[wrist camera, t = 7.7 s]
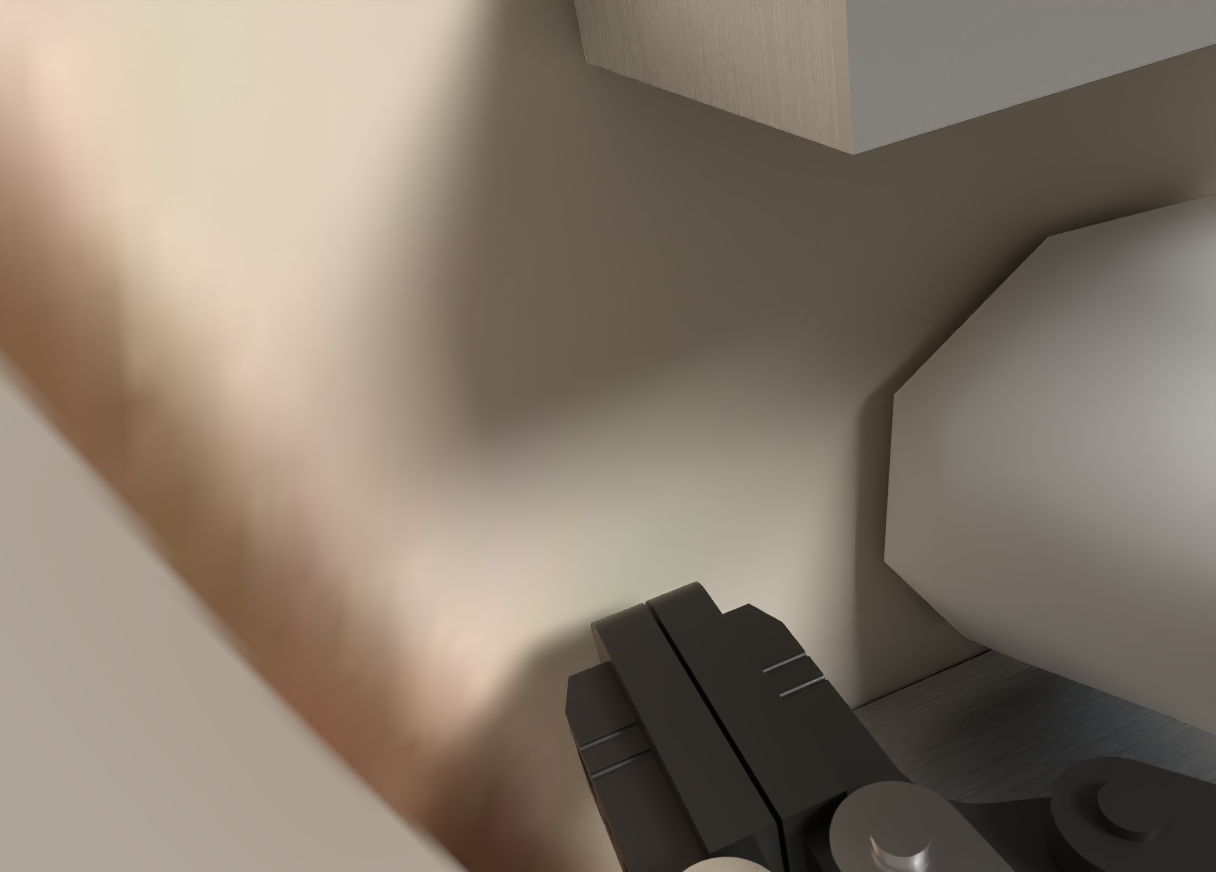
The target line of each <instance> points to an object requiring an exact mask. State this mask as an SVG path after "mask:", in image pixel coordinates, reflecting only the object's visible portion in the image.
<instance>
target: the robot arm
mask: <svg viewBox="0 0 1216 872" xmlns="http://www.w3.org/2000/svg"><path fill="white" fill-rule="evenodd" d="M591 628H592V632H593V636H594V640H595V643H596V647H597V650H598V654H599V657H600V661H601V664H600V665H597V666H595V667H592V668H590V669H587V670H585V671H582V672H580V673H577V674H575V675H573V676H570V677H569V681H568V690H567V700H566V710H565V713H566V716H567V719H568V723H569V726H570V729H571V732H572V735H573V738H574V741H575V744H576V747H577V750H578V753H579V757H580V760H581V763H582V766H583V769H584V772H585V775H586V778H587V781H588V784H589V788H590V790H591V793H592V795H593V798H594V800H595V803H596V805H597V808H598V810H599V813H600V815H601V818H602V820H603V823H604V825H605V827H606V830H607V833H608V835H609V838H610V840H611V843H612V845H613V848H614V850H615V852H616V855H617V857H618V860H619V863H620V865H621V868H622V870H623V872H1216V784H1213V783H1210V782H1207V781H1203V780H1200V779H1197V778H1193V777H1190V776H1187V775H1183V774H1180V773H1177V772H1173V771H1170V770H1167V769H1163V768H1160V767H1157V766H1153V765H1150V764H1147V763H1143V762H1140V761H1136V760H1131V759H1127V758H1120V757H1096V758H1090V759H1086V760H1083V761H1080V762H1077V763H1076V764H1074V765H1072V766H1070V767H1068V768H1067V769H1066V770H1065V771H1064V772H1063V773H1062V774H1061V775H1060V776H1059V778H1058V779H1057V780H1056V782H1055V784H1054V787H1053V789H1052V794H1051V797H1042V798H1033V799H1024V800H1015V801H1006V802H997V803H982V804H974V803H963V802H958V801H953V800H949V799H946V798H943V797H941V796H940V795H938V794H937V793H935V792H933V791H931V790H929V789H927V788H925V787H922V786H919V785H916V784H915V783H913V782H912V781H911V780H909V779H908V778H907V777H906V776H905V775H903V774H902V772H901V771H900V770H899V769H898V768H897V767H896V766H895V765H894V763H893V762H892V761H891V760H890V758H889V757H888V756H887V754H886V753H885V752H884V751H883V749H882V748H881V747H880V746H879V744H878V743H877V742H876V741H875V739H874V738H873V737H872V735H871V734H870V733H869V732H868V730H867V729H866V728H865V727H864V725H863V724H862V723H861V721H860V720H859V719H858V718H857V716H856V715H855V714H854V713H853V711H852V710H851V709H850V707H849V706H848V705H847V704H846V702H845V701H844V700H843V699H842V697H841V696H840V695H839V694H838V692H837V691H836V690H835V688H834V687H833V686H832V685H831V683H830V682H829V681H828V680H825V678H824V676H823V673H822V672H821V671H820V669H819V668H818V667H817V666H816V664H815V663H814V662H813V661H812V659H811V658H810V657H809V656H808V657H807V655H806V653H805V650H804V649H803V648H802V647H801V645H800V644H799V643H798V641H797V640H796V639H795V638H794V636H793V635H792V634H791V633H790V631H789V630H788V629H787V627H786V626H785V625H784V624H783V622H781V621H779V620H777V619H776V618H774V617H772V616H770V615H768V614H767V613H765V612H763V611H761V610H760V609H758V608H756V607H754V606H752V605H751V604H747V605H744V606H742V607H739V608H737V609H734V610H732V611H729V612H727V613H724V614H722V613H721V611H720V610H719V609H718V607H717V606H716V604H715V603H714V601H713V600H712V599H711V597H710V596H709V594H708V593H707V592H706V590H705V589H704V587H703V586H702V585H701V584H700V583H699V582H693V583H691V584H688V585H686V586H683V587H681V588H678V589H676V590H673V591H671V592H668V593H666V594H663V595H661V596H658V597H656V598H653V599H651V600H648V601H646V603H645V604H643V603H641V604H639V605H636V606H634V607H631V608H629V609H626V610H624V611H621V612H619V613H616V614H614V615H611V616H608V617H606V618H603V619H601V620H598V621H596V622H593V623H591Z"/></svg>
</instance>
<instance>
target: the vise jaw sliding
mask: <svg viewBox="0 0 1216 872" xmlns="http://www.w3.org/2000/svg"><path fill="white" fill-rule="evenodd" d="M574 5H575V10H576V16H577V21H578V26H579V31H580V36H581V41H582V46H583V52H584V57H585V62H586V63H589V64H592V65H595V66H598V67H600V68H603V69H606V70H609V71H612V72H615V73H618V74H621V75H624V76H626V77H629V78H632V79H635V80H638V81H641V82H644V83H647V84H650V85H652V86H655V87H658V88H661V89H664V90H667V91H670V92H673V93H676V94H678V95H681V96H684V97H687V98H690V99H693V100H696V101H699V102H702V103H705V104H707V105H710V106H713V107H716V108H719V109H722V110H725V111H728V112H731V113H733V114H736V115H739V116H742V117H745V118H748V119H751V120H754V121H757V122H759V123H762V124H765V125H768V126H771V127H774V128H777V129H780V130H783V131H785V132H788V133H791V134H794V135H797V136H800V137H803V138H806V139H809V140H811V141H814V142H817V143H820V144H823V145H826V146H829V147H832V148H835V149H837V150H840V151H843V152H846V153H849V154H852V155H855V154H858V153H861V152H865V151H868V150H871V149H875V148H878V147H881V146H884V145H888V144H891V143H894V142H897V141H901V140H904V139H907V138H910V137H914V136H917V135H920V134H923V133H927V132H930V131H933V130H936V129H940V128H943V127H946V126H949V125H953V124H956V123H959V122H962V121H966V120H969V119H972V118H975V117H979V116H982V115H985V114H988V113H992V112H995V111H998V110H1001V109H1005V108H1008V107H1011V106H1014V105H1018V104H1021V103H1024V102H1028V101H1031V100H1034V99H1037V98H1041V97H1044V96H1047V95H1050V94H1054V93H1057V92H1060V91H1063V90H1067V89H1070V88H1073V87H1076V86H1080V85H1083V84H1086V83H1089V82H1093V81H1096V80H1099V79H1102V78H1106V77H1109V76H1112V75H1115V74H1119V73H1122V72H1125V71H1128V70H1132V69H1135V68H1138V67H1141V66H1145V65H1148V64H1151V63H1154V62H1158V61H1161V60H1164V59H1167V58H1171V57H1174V56H1177V55H1181V54H1184V53H1187V52H1190V51H1194V50H1197V49H1200V48H1203V47H1207V46H1210V45H1213V44H1216V0H574Z"/></svg>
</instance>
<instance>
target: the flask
mask: <svg viewBox="0 0 1216 872" xmlns="http://www.w3.org/2000/svg"><path fill="white" fill-rule="evenodd" d="M884 562H885V563H886V564H887V565H889V566H890V567H891V568H892V569H893V570H894V571H895V572H896V573H897V574H898V575H899V576H900V577H901V578H902V579H903V580H904V581H905V582H906V583H907V584H908V585H910V586H911V587H912V588H913V589H914V590H915V591H916V592H917V593H918V594H919V595H920V596H921V597H922V598H923V599H924V600H925V601H926V602H927V603H928V604H929V605H931V606H932V607H933V608H934V609H935V610H936V611H937V612H938V613H939V614H940V615H941V616H942V617H943V618H944V619H945V620H946V621H947V622H948V623H949V624H950V625H951V626H953V627H954V628H955V629H956V630H957V631H958V632H959V633H960V634H961V635H962V636H963V637H964V638H966V639H968V640H971V641H973V642H976V643H978V644H981V645H983V646H985V647H988V648H990V649H993V650H995V651H998V652H1000V653H1002V654H1005V655H1007V656H1010V657H1012V658H1015V659H1017V660H1020V661H1023V662H1025V663H1028V664H1031V665H1033V666H1036V667H1039V668H1041V669H1044V670H1047V671H1049V672H1052V673H1055V674H1058V675H1060V676H1063V677H1066V678H1068V679H1071V680H1074V681H1076V682H1079V683H1082V684H1084V685H1087V686H1090V687H1092V688H1095V689H1098V690H1100V691H1103V692H1106V693H1109V694H1111V695H1114V696H1117V697H1119V698H1122V699H1125V700H1127V701H1130V702H1133V703H1135V704H1138V705H1141V706H1143V707H1146V708H1149V709H1151V710H1154V711H1157V712H1159V713H1162V714H1165V715H1168V716H1170V717H1173V718H1175V719H1177V720H1180V721H1182V722H1185V723H1187V724H1190V725H1192V726H1194V727H1197V728H1199V729H1202V730H1204V731H1207V732H1209V733H1211V734H1214V735H1216V196H1215V195H1214V194H1212V195H1208V196H1204V197H1200V198H1197V199H1193V200H1189V201H1185V202H1181V203H1177V204H1173V205H1169V206H1165V207H1161V208H1158V209H1154V210H1150V211H1146V212H1142V213H1138V214H1134V215H1130V216H1126V217H1122V218H1118V219H1115V220H1111V221H1107V222H1103V223H1099V224H1095V225H1091V226H1087V227H1083V228H1079V229H1076V230H1072V231H1068V232H1064V233H1060V234H1056V235H1052V236H1048V237H1047V238H1046V239H1045V240H1044V241H1043V242H1042V243H1041V244H1040V246H1039V247H1038V248H1037V249H1036V250H1035V251H1034V252H1033V253H1032V254H1031V255H1030V256H1029V257H1028V258H1027V259H1026V260H1025V261H1024V262H1023V263H1022V264H1021V265H1020V266H1019V267H1018V268H1017V269H1016V270H1015V271H1014V272H1013V273H1012V274H1011V275H1010V276H1009V277H1008V278H1007V279H1006V280H1005V281H1004V282H1003V283H1002V284H1001V285H1000V286H999V287H998V289H997V290H996V291H995V292H994V293H993V294H992V295H991V296H990V297H989V298H988V299H987V300H986V301H985V302H984V303H983V304H982V305H981V306H980V307H979V308H978V309H977V310H976V311H975V312H974V313H973V314H972V315H971V316H970V317H969V318H968V319H967V320H966V321H965V322H964V323H963V324H962V325H961V326H960V327H959V328H958V329H957V330H956V331H955V333H954V334H953V335H952V336H951V337H950V338H949V339H948V340H947V341H946V342H945V343H944V344H943V345H942V346H941V347H940V348H939V349H938V350H937V351H936V352H935V353H934V354H933V355H932V356H931V357H930V358H929V359H928V360H927V361H926V362H925V363H924V364H923V365H922V366H921V367H920V368H919V369H918V370H917V371H916V372H915V373H914V374H913V376H912V377H911V378H910V379H909V380H908V381H907V382H906V383H905V384H904V385H903V386H902V387H901V388H900V389H899V390H898V391H897V392H896V393H895V394H894V403H893V420H892V437H891V453H890V470H889V487H888V503H887V520H886V537H885V553H884Z"/></svg>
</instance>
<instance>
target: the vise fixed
mask: <svg viewBox="0 0 1216 872" xmlns="http://www.w3.org/2000/svg"><path fill="white" fill-rule="evenodd" d="M853 713H854V714H855V715H856V716H857V718H858V719H859V720H860V721H861V723H862V724H863V725H864V727H865V728H866V729H867V730H868V732H869V733H870V734H871V735H872V737H873V738H874V739H875V741H876V742H877V743H878V744H879V746H880V747H881V748H882V749H883V751H884V752H885V753H886V754H887V756H888V757H889V758H890V760H891V761H892V762H893V763H894V765H895V766H896V767H897V768H898V769H899V770H900V771H901V772H902V774H903V775H905V776H906V777H907V778H908V779H909V780H911V781H912V782H913V783H915V784H916V785H919V786H922V787H925V788H927V789H929V790H931V791H933V792H935V793H937V794H938V795H940V796H941V797H943V798H946V799H949V800H953V801H958V802H963V803H974V804H982V803H997V802H1006V801H1015V800H1024V799H1033V798H1042V797H1051V794H1052V789H1053V787H1054V784H1055V782H1056V780H1057V779H1058V778H1059V776H1060V775H1061V774H1062V773H1063V772H1064V771H1065V770H1066V769H1067V768H1068V767H1070V766H1072V765H1074V764H1076V763H1077V762H1080V761H1083V760H1086V759H1090V758H1096V757H1120V758H1127V759H1131V760H1136V761H1140V762H1143V763H1147V764H1150V765H1153V766H1157V767H1160V768H1163V769H1167V770H1170V771H1173V772H1177V773H1180V774H1183V775H1187V776H1190V777H1193V778H1197V779H1200V780H1203V781H1207V782H1210V783H1213V784H1216V735H1214V734H1211V733H1209V732H1207V731H1204V730H1202V729H1199V728H1197V727H1194V726H1192V725H1190V724H1187V723H1185V722H1182V721H1180V720H1177V719H1175V718H1173V717H1170V716H1168V715H1165V714H1162V713H1159V712H1157V711H1154V710H1151V709H1149V708H1146V707H1143V706H1141V705H1138V704H1135V703H1133V702H1130V701H1127V700H1125V699H1122V698H1119V697H1117V696H1114V695H1111V694H1109V693H1106V692H1103V691H1100V690H1098V689H1095V688H1092V687H1090V686H1087V685H1084V684H1082V683H1079V682H1076V681H1074V680H1071V679H1068V678H1066V677H1063V676H1060V675H1058V674H1055V673H1052V672H1049V671H1047V670H1044V669H1041V668H1039V667H1036V666H1033V665H1031V664H1028V663H1025V662H1023V661H1020V660H1017V659H1015V658H1012V657H1010V656H1007V655H1005V654H1002V653H1000V652H998V651H995V650H991V651H989V652H987V653H984V654H982V655H980V656H978V657H975V658H973V659H971V660H968V661H966V662H964V663H961V664H959V665H957V666H955V667H952V668H950V669H948V670H945V671H943V672H941V673H938V674H936V675H934V676H932V677H929V678H927V679H925V680H922V681H920V682H918V683H915V684H913V685H911V686H908V687H906V688H904V689H902V690H899V691H897V692H895V693H892V694H890V695H888V696H885V697H883V698H881V699H879V700H876V701H874V702H872V703H869V704H867V705H865V706H862V707H860V708H858V709H856V710H853Z"/></svg>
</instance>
